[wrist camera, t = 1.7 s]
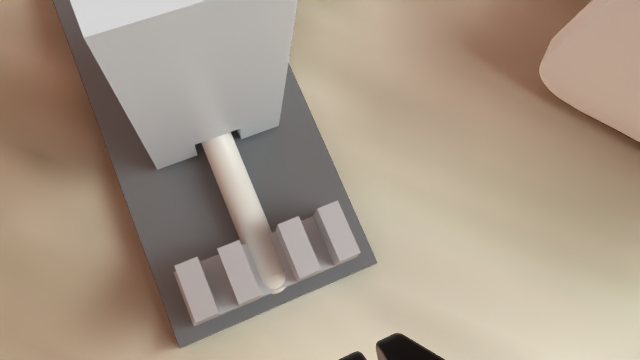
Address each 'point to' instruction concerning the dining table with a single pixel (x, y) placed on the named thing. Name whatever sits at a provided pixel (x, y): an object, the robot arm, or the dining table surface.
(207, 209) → the cord comb board
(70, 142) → the dining table surface
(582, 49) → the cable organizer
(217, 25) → the open-bottomed white box
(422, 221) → the dining table surface
